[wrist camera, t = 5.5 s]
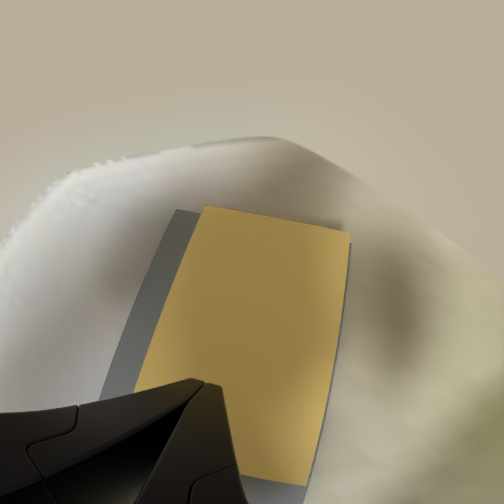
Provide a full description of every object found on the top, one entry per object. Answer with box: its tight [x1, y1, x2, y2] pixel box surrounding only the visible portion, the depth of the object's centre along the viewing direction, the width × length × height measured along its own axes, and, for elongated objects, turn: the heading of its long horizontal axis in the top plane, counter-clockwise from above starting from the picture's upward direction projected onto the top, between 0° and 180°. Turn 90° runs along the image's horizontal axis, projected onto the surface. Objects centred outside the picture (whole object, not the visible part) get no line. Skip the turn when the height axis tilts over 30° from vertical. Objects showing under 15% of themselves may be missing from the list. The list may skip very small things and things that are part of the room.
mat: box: [99, 210, 351, 504], centre depth 15 cm, size 17×11×1 cm, turn 166°
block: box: [133, 205, 350, 486], centre depth 15 cm, size 2×8×12 cm
